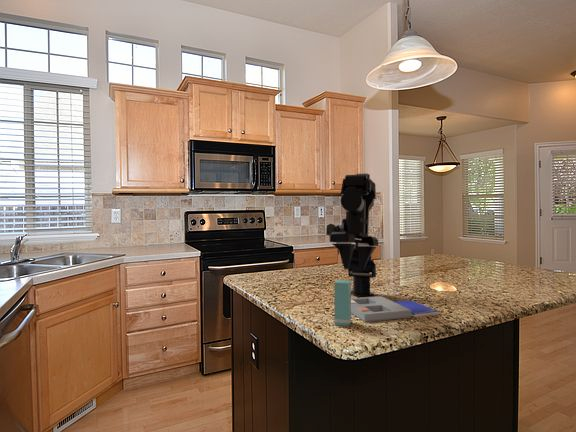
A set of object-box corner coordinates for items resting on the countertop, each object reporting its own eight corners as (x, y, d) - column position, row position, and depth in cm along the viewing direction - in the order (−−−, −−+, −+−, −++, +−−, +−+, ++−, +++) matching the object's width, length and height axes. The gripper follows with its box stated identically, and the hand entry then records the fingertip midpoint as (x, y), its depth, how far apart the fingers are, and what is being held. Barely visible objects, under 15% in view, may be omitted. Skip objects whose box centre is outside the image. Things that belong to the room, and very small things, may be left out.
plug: (337, 320, 97) (337, 279, 97) (351, 322, 96) (351, 280, 95) (334, 325, 93) (334, 282, 93) (348, 326, 92) (348, 283, 92)
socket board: (340, 305, 111) (340, 298, 111) (381, 302, 115) (381, 295, 115) (364, 321, 96) (364, 313, 96) (411, 317, 99) (411, 309, 99)
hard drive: (439, 310, 102) (411, 299, 114) (414, 313, 100) (389, 302, 112) (439, 316, 102) (411, 304, 114) (414, 318, 100) (389, 307, 112)
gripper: (347, 220, 120) (346, 268, 118) (314, 213, 106) (313, 267, 104) (379, 219, 113) (378, 270, 111) (348, 211, 99) (347, 269, 97)
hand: (354, 269), depth 106 cm, fingers open, 9 cm apart
